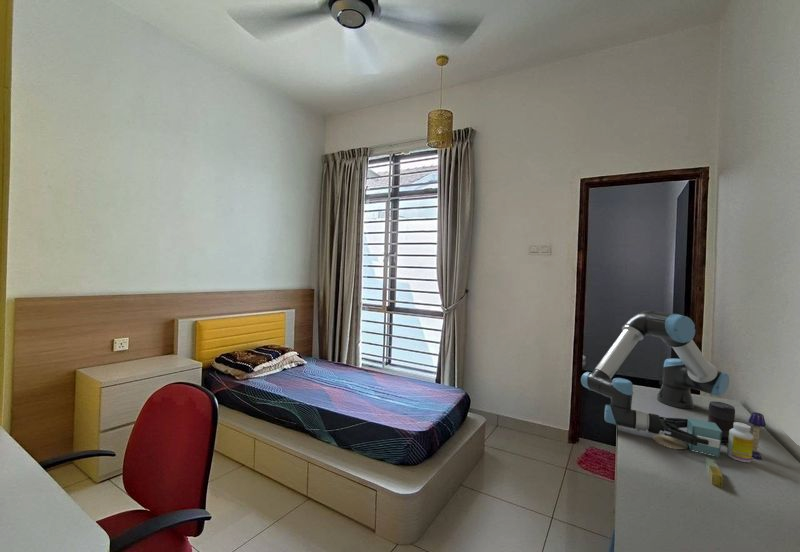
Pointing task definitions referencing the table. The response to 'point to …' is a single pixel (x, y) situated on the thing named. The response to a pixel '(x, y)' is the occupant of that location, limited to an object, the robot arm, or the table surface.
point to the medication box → (714, 472)
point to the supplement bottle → (740, 442)
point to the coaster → (670, 441)
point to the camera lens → (722, 418)
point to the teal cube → (704, 435)
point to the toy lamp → (756, 432)
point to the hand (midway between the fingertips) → (714, 436)
